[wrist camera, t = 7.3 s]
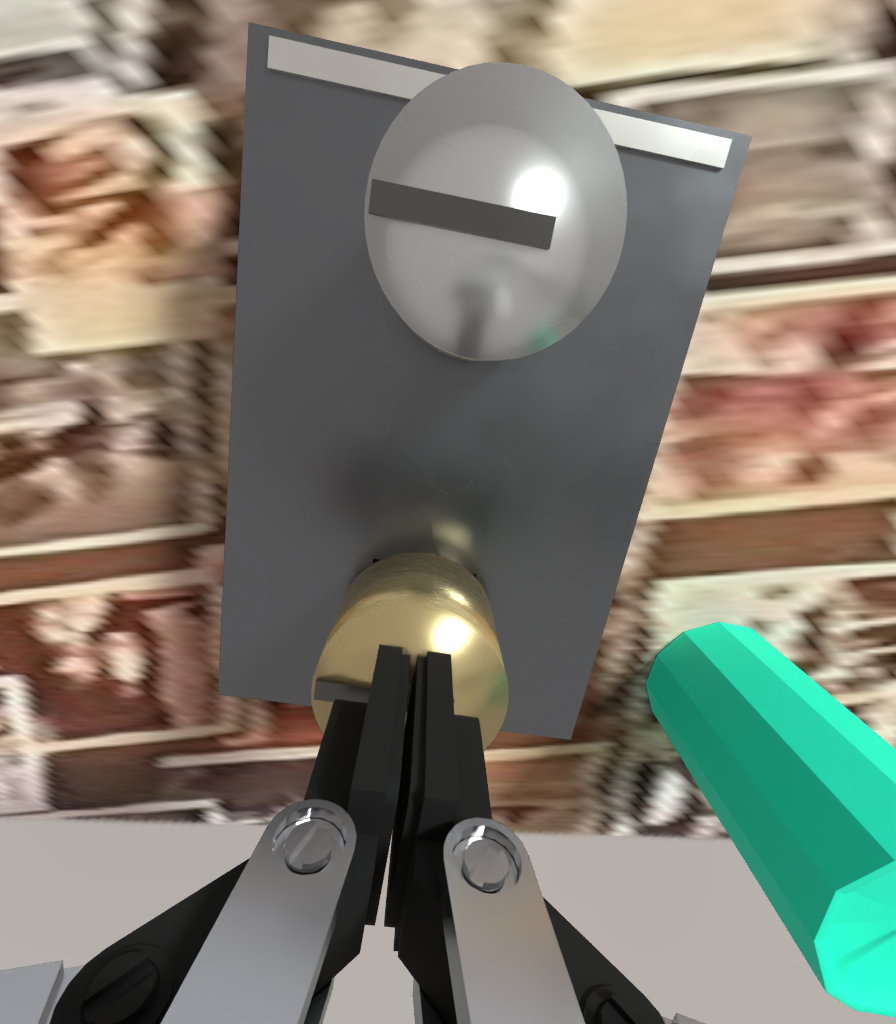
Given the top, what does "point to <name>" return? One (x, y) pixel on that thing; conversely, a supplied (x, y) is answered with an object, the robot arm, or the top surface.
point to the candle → (792, 798)
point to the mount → (438, 391)
